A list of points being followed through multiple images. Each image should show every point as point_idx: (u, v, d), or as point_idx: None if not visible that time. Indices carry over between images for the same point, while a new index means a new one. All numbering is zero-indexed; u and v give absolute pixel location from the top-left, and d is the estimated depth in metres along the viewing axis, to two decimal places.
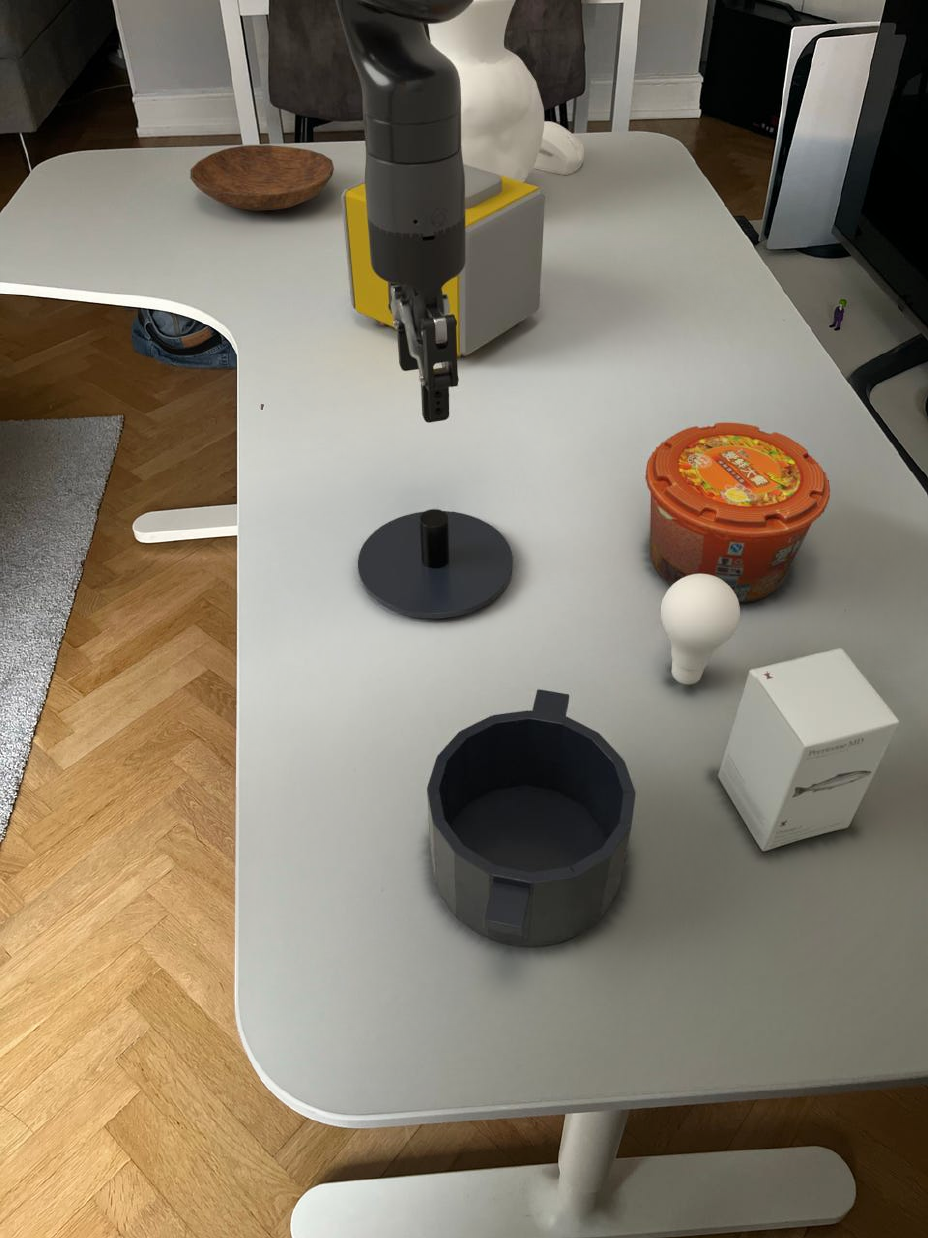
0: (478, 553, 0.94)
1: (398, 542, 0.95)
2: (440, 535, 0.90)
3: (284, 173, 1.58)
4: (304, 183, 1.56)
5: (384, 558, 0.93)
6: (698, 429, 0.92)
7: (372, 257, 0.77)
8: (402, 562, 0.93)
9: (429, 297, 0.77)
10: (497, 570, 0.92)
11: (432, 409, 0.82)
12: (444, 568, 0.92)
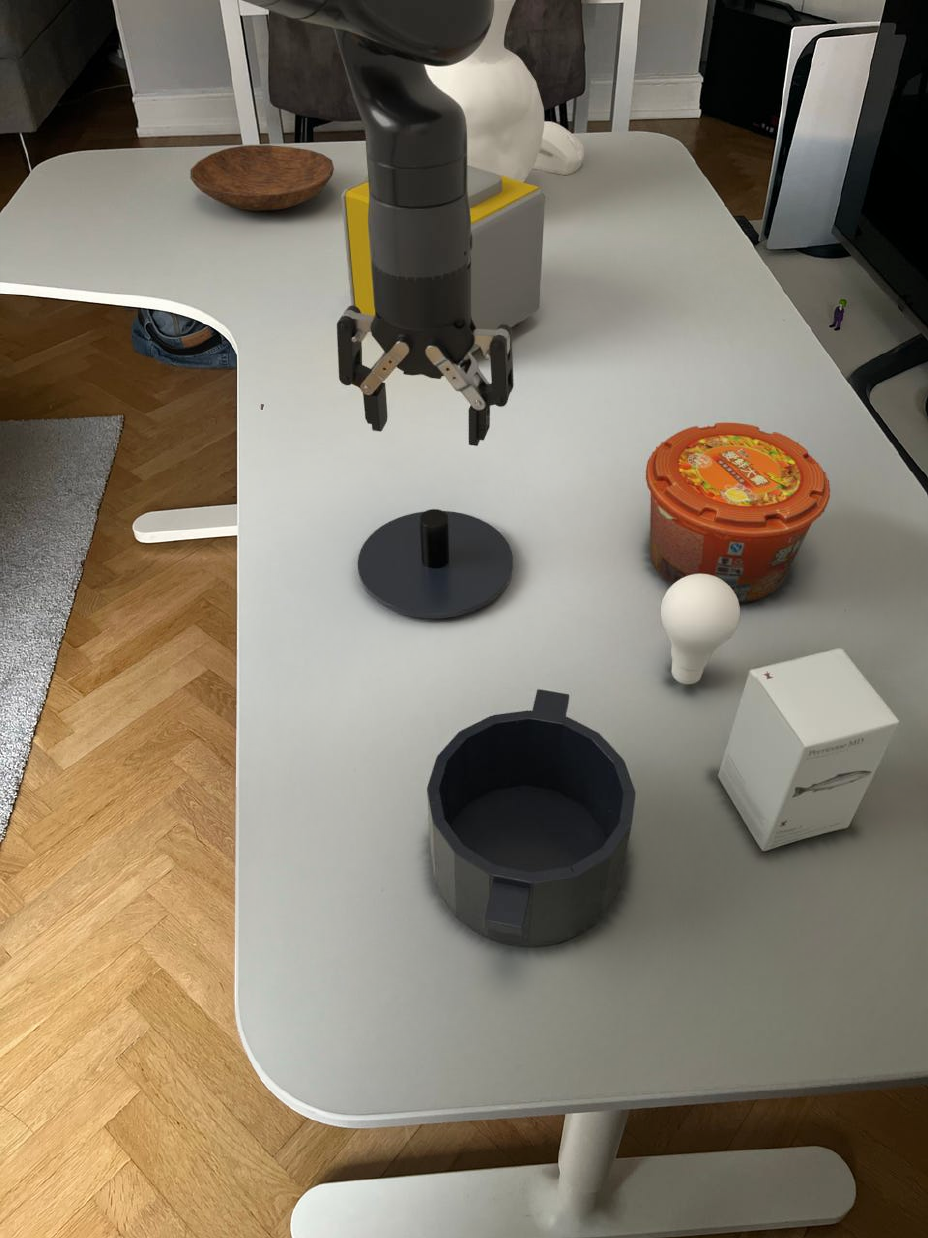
0: (478, 553, 0.94)
1: (398, 542, 0.95)
2: (440, 535, 0.90)
3: (284, 173, 1.58)
4: (304, 183, 1.56)
5: (384, 558, 0.93)
6: (698, 429, 0.92)
7: (413, 314, 0.73)
8: (402, 562, 0.93)
9: (469, 323, 0.77)
10: (497, 570, 0.92)
11: (486, 428, 0.83)
12: (444, 568, 0.92)
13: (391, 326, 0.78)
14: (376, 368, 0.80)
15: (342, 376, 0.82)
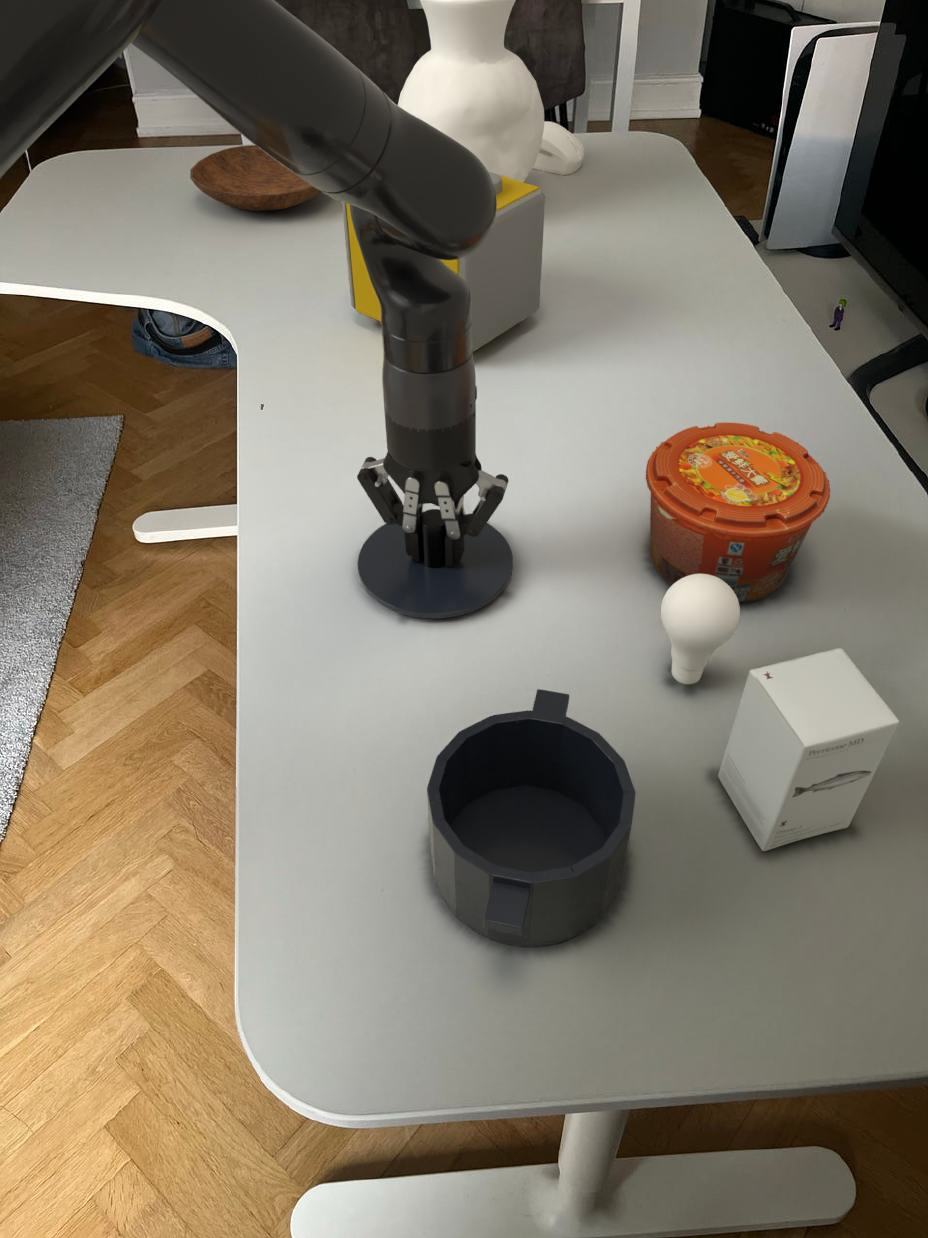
0: (478, 553, 0.94)
1: (398, 542, 0.95)
2: (440, 535, 0.90)
3: (284, 173, 1.58)
4: (304, 183, 1.56)
5: (384, 558, 0.93)
6: (698, 429, 0.92)
7: (424, 459, 0.81)
8: (402, 562, 0.93)
9: (474, 461, 0.84)
10: (497, 570, 0.92)
11: (461, 553, 0.91)
12: (444, 568, 0.92)
13: None
14: (404, 508, 0.88)
15: (386, 517, 0.89)
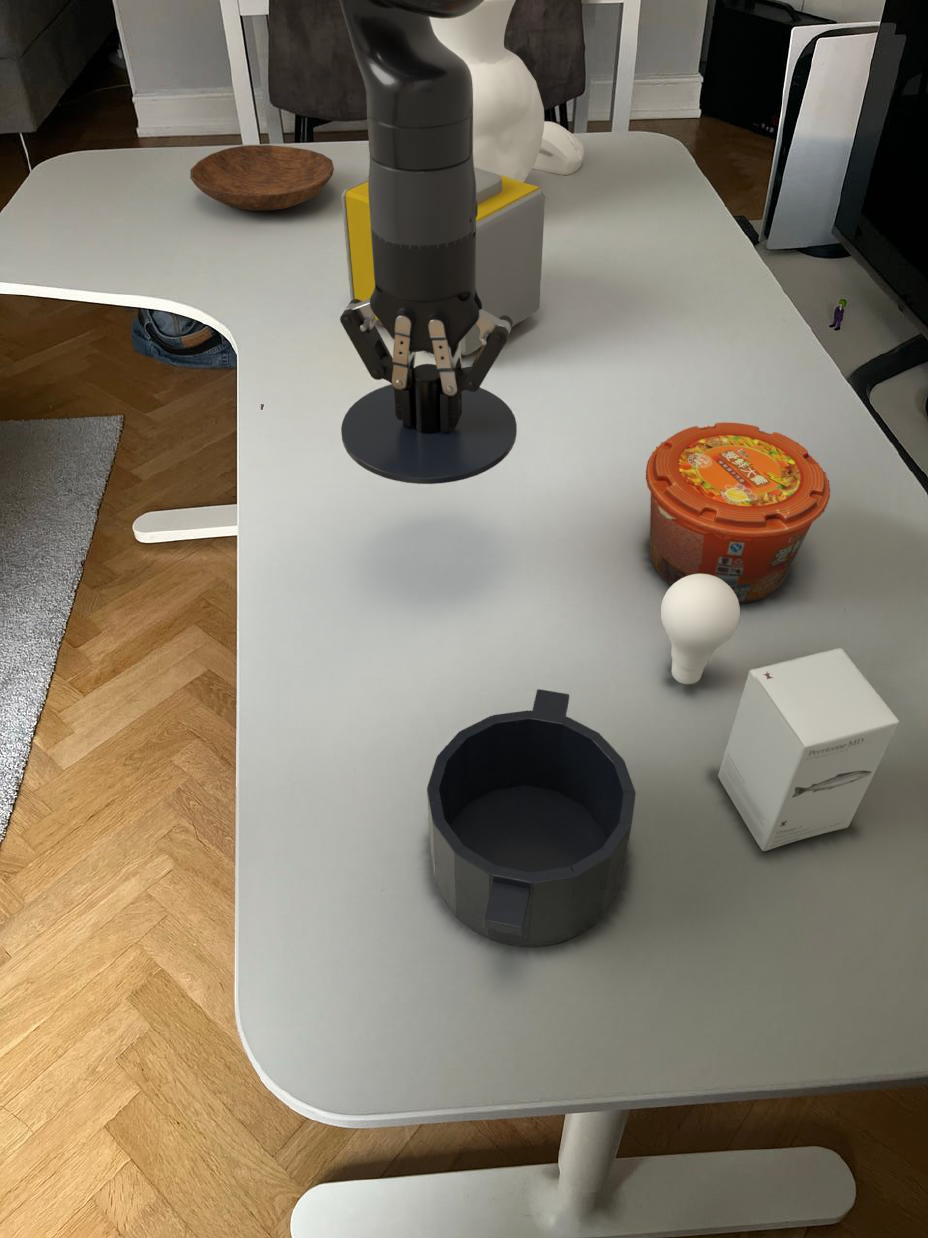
0: (477, 419, 0.83)
1: (387, 408, 0.84)
2: (435, 392, 0.79)
3: (284, 173, 1.58)
4: (304, 183, 1.56)
5: (371, 424, 0.83)
6: (698, 429, 0.92)
7: (417, 285, 0.70)
8: (391, 428, 0.82)
9: (474, 296, 0.74)
10: (499, 436, 0.81)
11: (458, 414, 0.81)
12: (439, 434, 0.82)
13: (392, 300, 0.74)
14: (394, 356, 0.77)
15: (373, 370, 0.79)
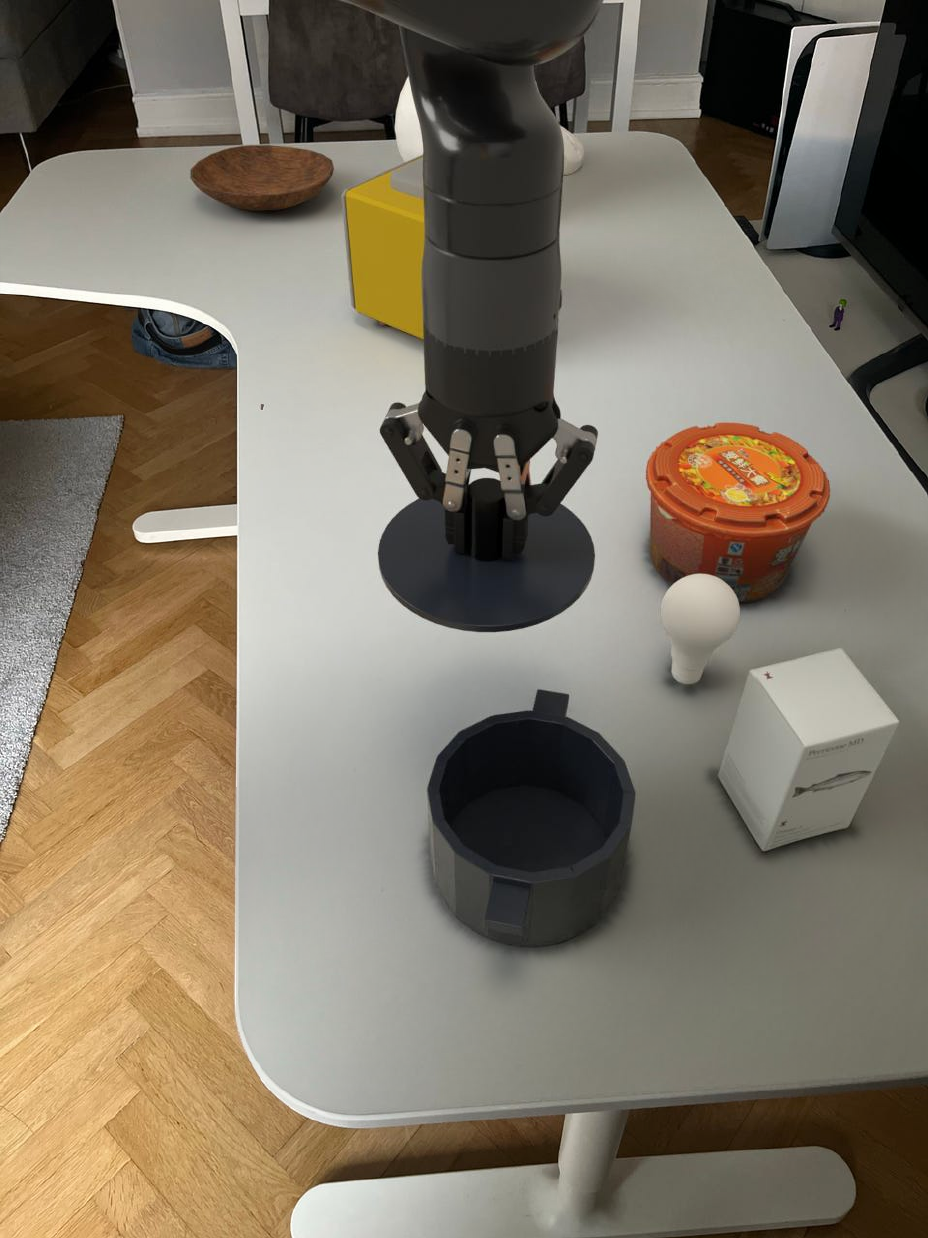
0: (545, 540, 0.67)
1: (433, 526, 0.69)
2: (497, 514, 0.63)
3: (284, 173, 1.58)
4: (304, 183, 1.56)
5: (415, 548, 0.67)
6: (698, 429, 0.92)
7: (484, 398, 0.54)
8: (440, 553, 0.67)
9: (552, 404, 0.58)
10: (574, 564, 0.66)
11: (525, 539, 0.65)
12: (500, 562, 0.66)
13: (447, 409, 0.58)
14: (447, 475, 0.61)
15: (419, 489, 0.63)
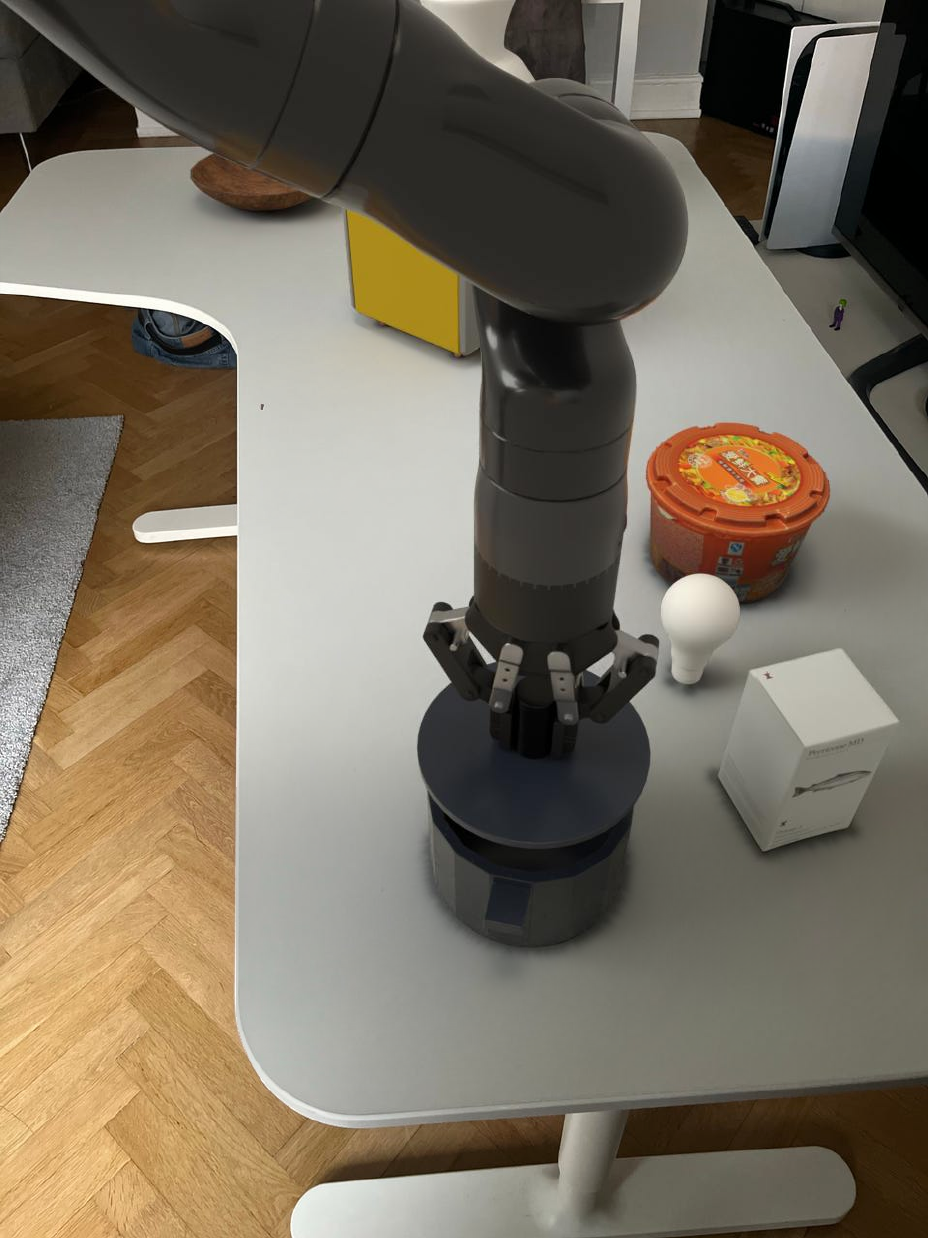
0: (596, 732, 0.63)
1: (475, 713, 0.64)
2: (547, 717, 0.59)
3: None
4: None
5: (456, 741, 0.62)
6: (698, 429, 0.92)
7: (540, 627, 0.50)
8: (484, 748, 0.62)
9: (611, 619, 0.53)
10: (629, 763, 0.61)
11: None
12: (548, 760, 0.61)
13: None
14: (495, 683, 0.56)
15: (464, 691, 0.58)
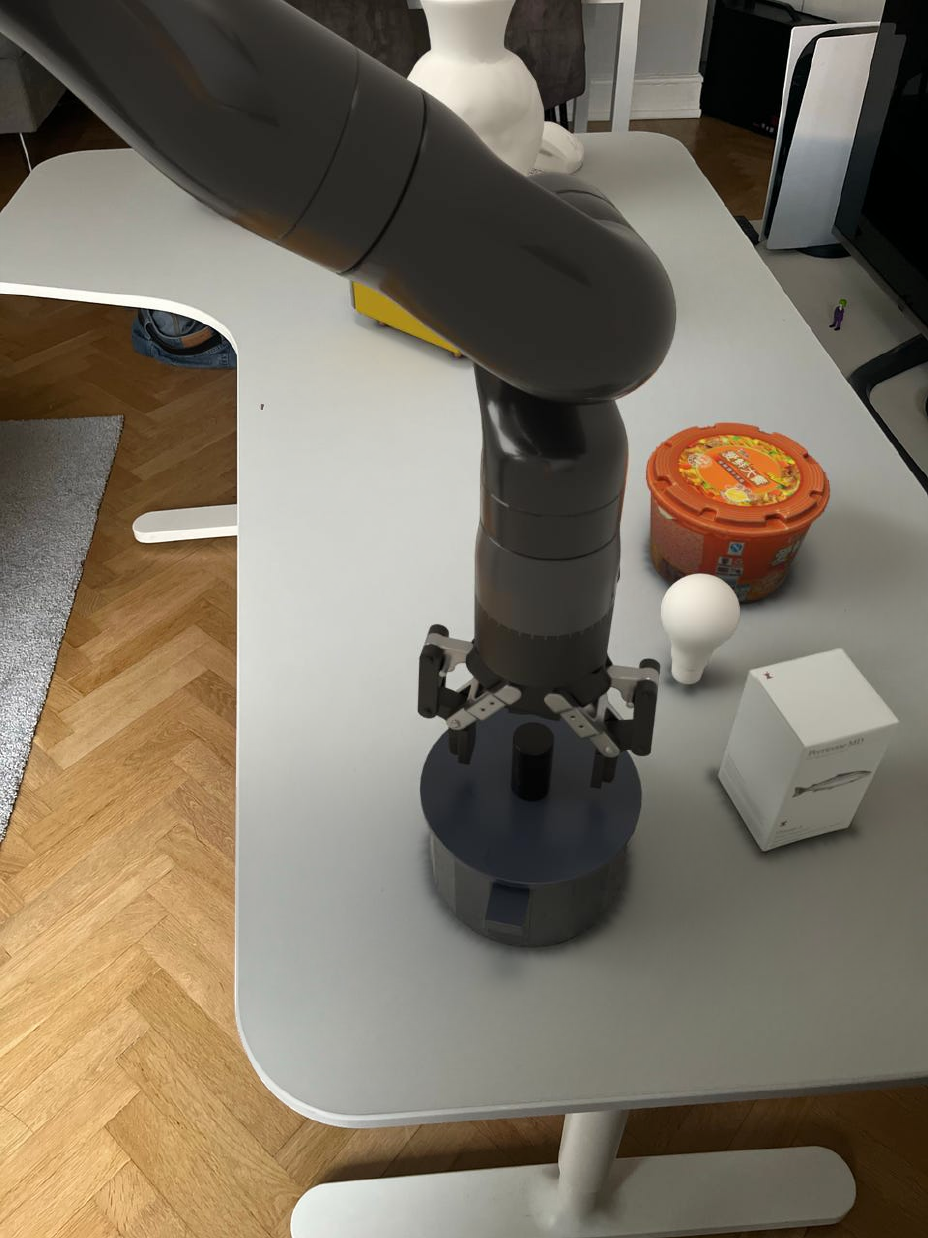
0: (590, 775, 0.66)
1: (475, 755, 0.67)
2: (543, 763, 0.62)
3: None
4: None
5: (457, 783, 0.66)
6: (698, 429, 0.92)
7: (537, 674, 0.52)
8: (483, 790, 0.65)
9: None
10: (621, 805, 0.64)
11: None
12: (544, 802, 0.64)
13: None
14: (472, 708, 0.59)
15: (422, 709, 0.61)
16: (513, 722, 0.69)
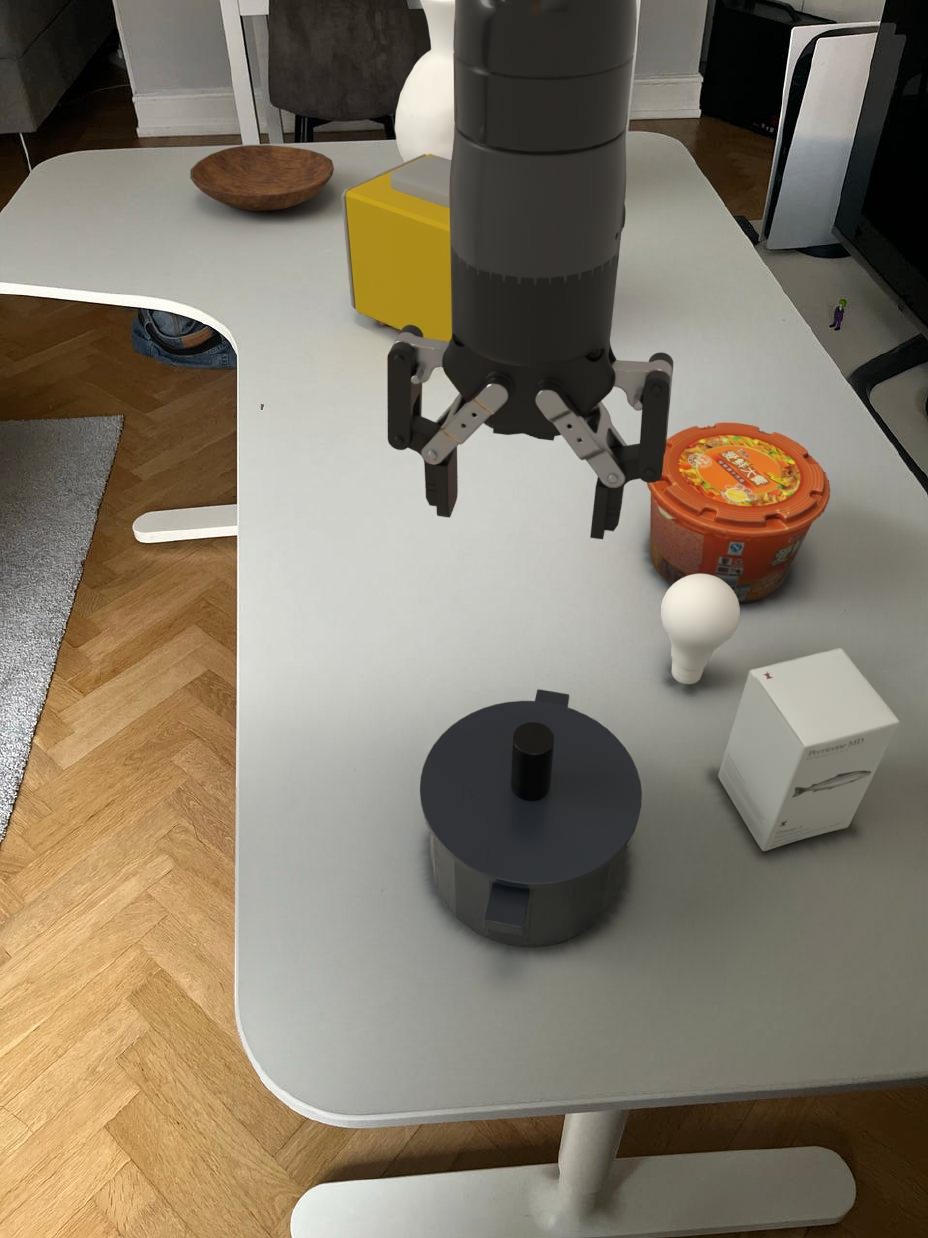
0: (590, 775, 0.66)
1: (475, 755, 0.67)
2: (543, 763, 0.62)
3: (284, 173, 1.58)
4: (304, 183, 1.56)
5: (457, 783, 0.66)
6: (698, 429, 0.92)
7: (526, 341, 0.43)
8: (483, 790, 0.65)
9: (608, 352, 0.47)
10: (621, 805, 0.64)
11: (619, 513, 0.53)
12: (544, 802, 0.64)
13: (478, 359, 0.47)
14: (450, 425, 0.50)
15: (393, 436, 0.52)
16: (513, 722, 0.69)
